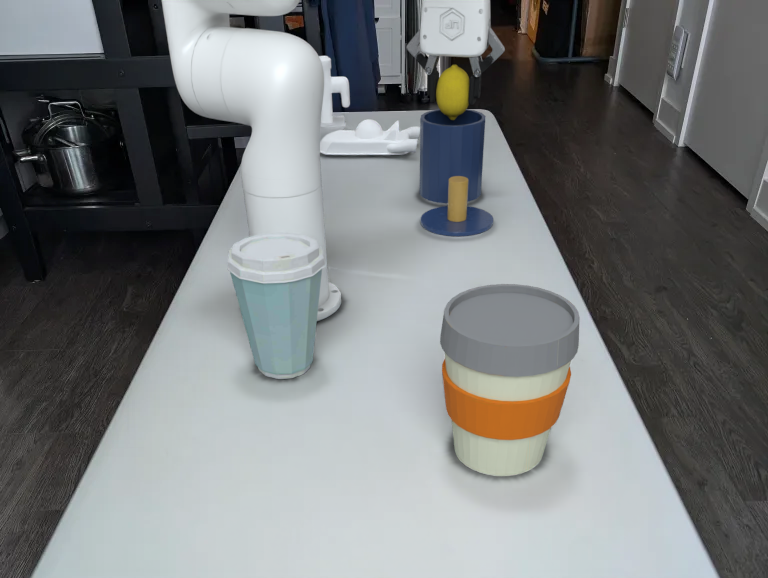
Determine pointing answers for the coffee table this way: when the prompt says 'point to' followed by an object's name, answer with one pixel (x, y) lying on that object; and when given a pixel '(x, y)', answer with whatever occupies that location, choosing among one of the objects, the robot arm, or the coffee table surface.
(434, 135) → the tin
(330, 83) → the white faucet
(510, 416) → the reusable coffee cup
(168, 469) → the coffee table surface
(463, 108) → the lemon
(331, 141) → the plane toy
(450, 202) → the tin lid
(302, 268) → the disposable coffee cup
